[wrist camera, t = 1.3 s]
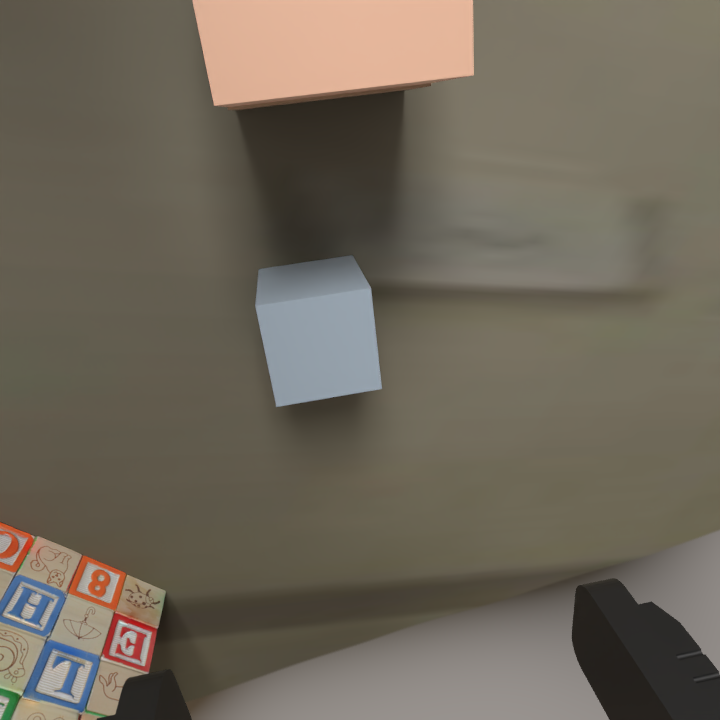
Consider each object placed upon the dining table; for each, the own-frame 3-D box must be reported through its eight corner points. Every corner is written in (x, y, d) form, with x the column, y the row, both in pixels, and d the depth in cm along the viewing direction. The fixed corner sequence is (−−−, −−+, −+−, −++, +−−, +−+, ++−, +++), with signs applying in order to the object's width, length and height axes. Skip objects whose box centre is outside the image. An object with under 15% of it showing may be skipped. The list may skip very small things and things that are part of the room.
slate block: (258, 268, 28) (255, 306, 23) (352, 254, 28) (370, 288, 23) (275, 354, 30) (276, 406, 25) (362, 340, 30) (381, 388, 25)
